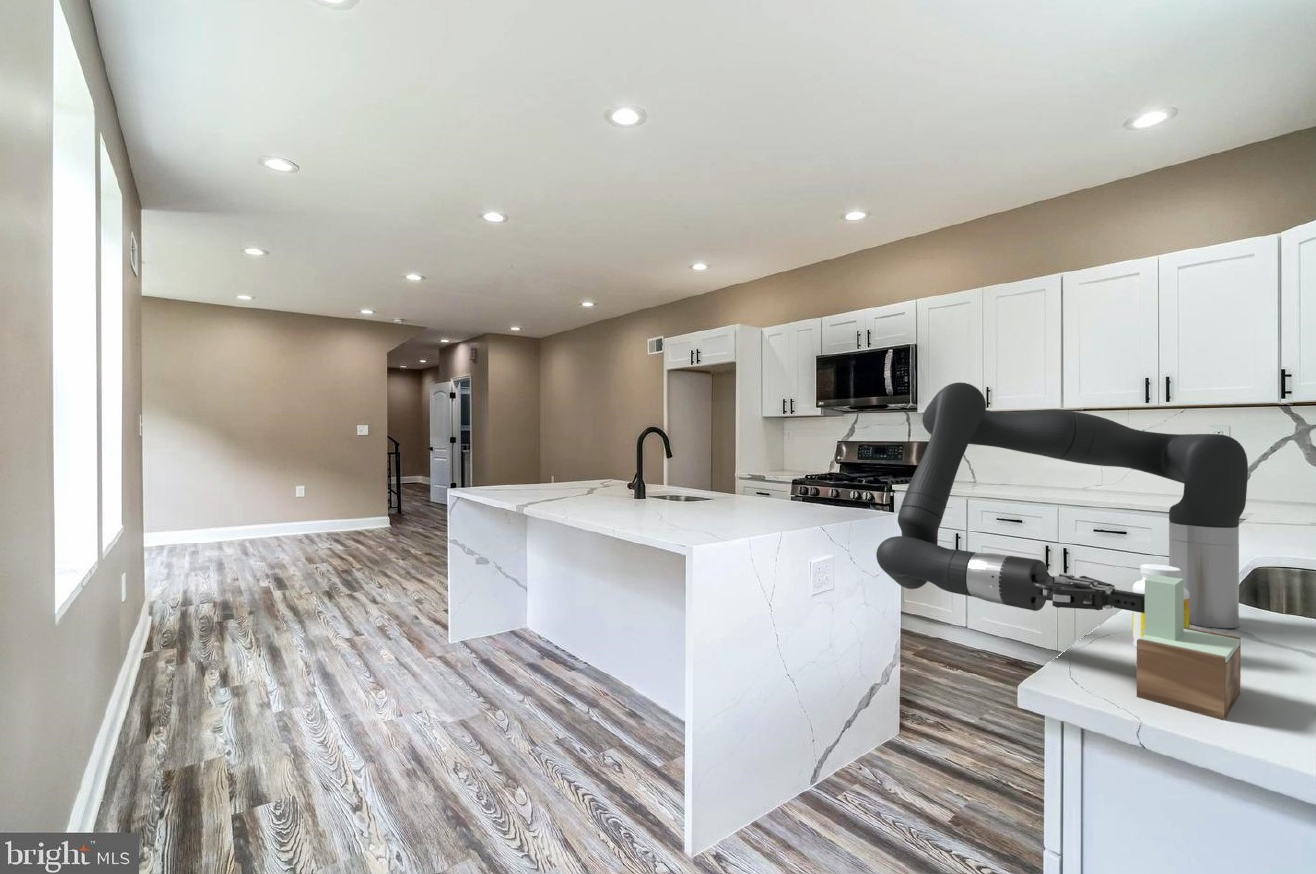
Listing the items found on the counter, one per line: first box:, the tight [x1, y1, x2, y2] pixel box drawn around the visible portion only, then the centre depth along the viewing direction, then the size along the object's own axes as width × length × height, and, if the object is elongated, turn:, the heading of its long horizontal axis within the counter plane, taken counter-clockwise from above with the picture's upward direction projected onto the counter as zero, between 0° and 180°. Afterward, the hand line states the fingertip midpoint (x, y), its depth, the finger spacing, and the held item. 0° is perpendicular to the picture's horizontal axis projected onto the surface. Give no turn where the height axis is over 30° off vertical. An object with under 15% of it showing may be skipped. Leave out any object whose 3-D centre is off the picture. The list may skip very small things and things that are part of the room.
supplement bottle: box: [1132, 563, 1191, 649], centre depth 91 cm, size 7×7×13 cm
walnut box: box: [1136, 627, 1242, 721], centre depth 76 cm, size 12×8×7 cm, turn 129°
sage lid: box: [1140, 575, 1240, 663], centre depth 75 cm, size 10×8×8 cm
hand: (1149, 604), depth 79 cm, fingers closed
